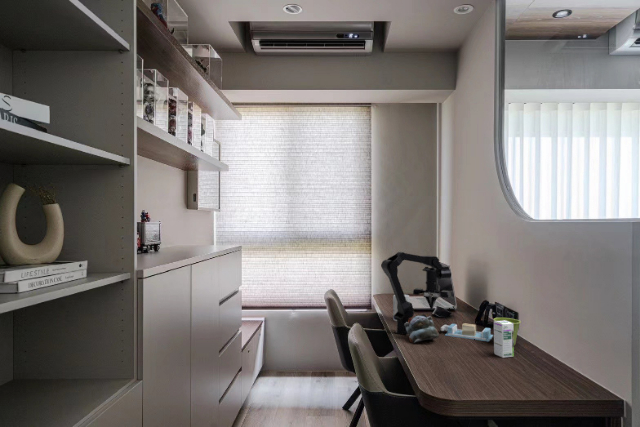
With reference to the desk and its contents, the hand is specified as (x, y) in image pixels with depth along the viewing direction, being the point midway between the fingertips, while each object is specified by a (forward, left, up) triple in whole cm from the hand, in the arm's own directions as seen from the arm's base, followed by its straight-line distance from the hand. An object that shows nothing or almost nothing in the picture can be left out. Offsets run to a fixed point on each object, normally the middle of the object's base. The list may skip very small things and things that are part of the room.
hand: (431, 309), depth 223 cm
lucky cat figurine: (-22, -1, -12) cm, 25 cm away
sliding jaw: (0, -9, -11) cm, 14 cm away
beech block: (0, -19, -11) cm, 22 cm away
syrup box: (-25, -39, -12) cm, 47 cm away
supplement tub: (+13, +21, -12) cm, 28 cm away
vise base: (0, -19, -11) cm, 22 cm away
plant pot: (-6, -38, -12) cm, 40 cm away
